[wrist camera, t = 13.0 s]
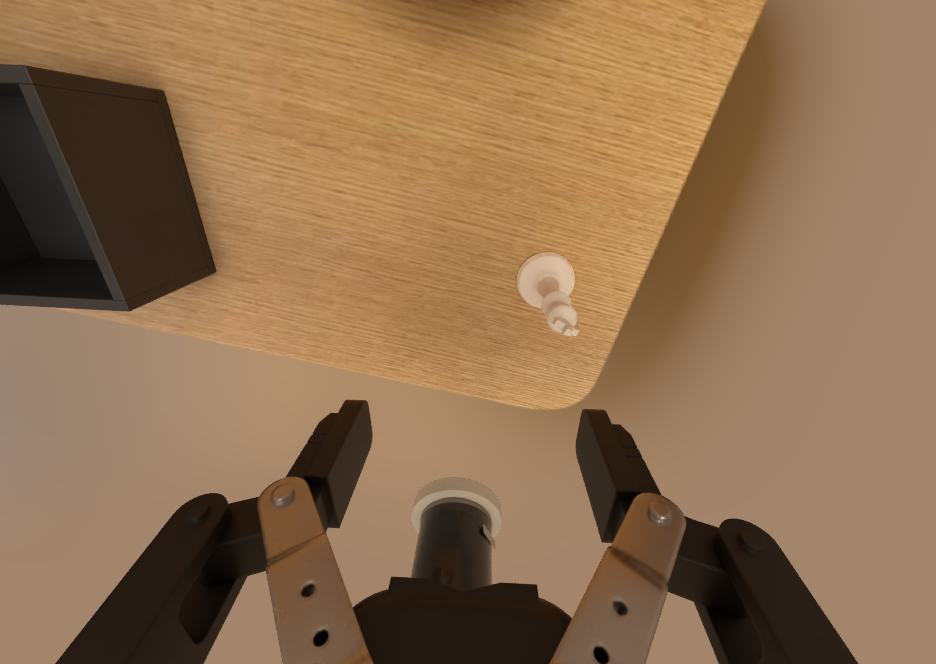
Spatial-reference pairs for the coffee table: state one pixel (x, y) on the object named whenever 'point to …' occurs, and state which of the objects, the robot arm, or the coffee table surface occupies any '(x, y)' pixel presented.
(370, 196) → the coffee table surface
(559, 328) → the chess piece
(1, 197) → the case
